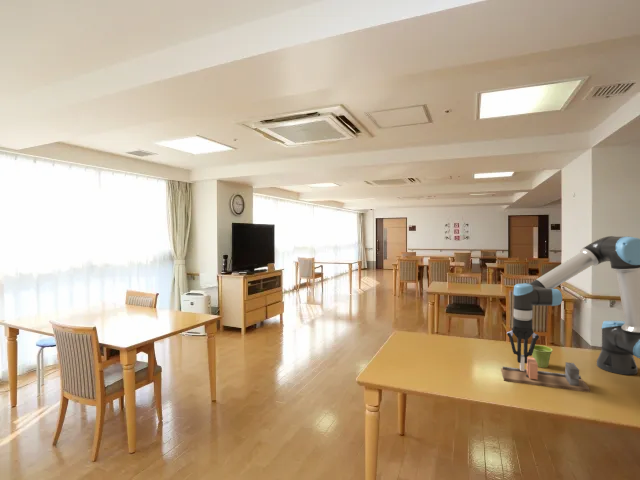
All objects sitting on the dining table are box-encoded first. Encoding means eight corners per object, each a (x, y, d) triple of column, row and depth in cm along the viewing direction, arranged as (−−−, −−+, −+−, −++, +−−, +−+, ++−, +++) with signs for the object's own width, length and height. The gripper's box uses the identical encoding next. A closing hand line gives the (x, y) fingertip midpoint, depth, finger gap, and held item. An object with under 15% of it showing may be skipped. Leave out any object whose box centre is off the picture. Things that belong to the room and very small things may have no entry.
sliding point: (534, 372, 166) (534, 357, 166) (537, 379, 158) (537, 363, 158) (526, 371, 167) (526, 356, 167) (529, 378, 159) (529, 362, 159)
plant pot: (555, 369, 173) (556, 352, 173) (534, 368, 175) (534, 350, 175) (547, 362, 182) (547, 345, 182) (527, 361, 184) (527, 344, 184)
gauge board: (581, 380, 161) (581, 362, 161) (590, 392, 150) (590, 372, 150) (501, 370, 173) (501, 353, 172) (504, 380, 161) (504, 362, 161)
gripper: (537, 317, 164) (536, 368, 165) (505, 315, 169) (505, 365, 170) (541, 321, 157) (540, 375, 158) (507, 319, 162) (507, 371, 163)
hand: (522, 369), depth 164 cm, fingers closed
